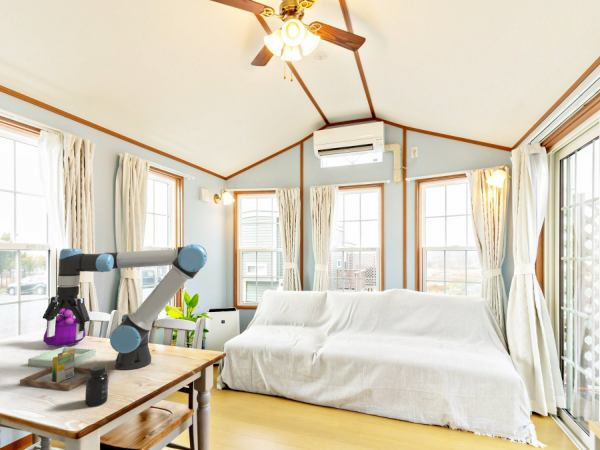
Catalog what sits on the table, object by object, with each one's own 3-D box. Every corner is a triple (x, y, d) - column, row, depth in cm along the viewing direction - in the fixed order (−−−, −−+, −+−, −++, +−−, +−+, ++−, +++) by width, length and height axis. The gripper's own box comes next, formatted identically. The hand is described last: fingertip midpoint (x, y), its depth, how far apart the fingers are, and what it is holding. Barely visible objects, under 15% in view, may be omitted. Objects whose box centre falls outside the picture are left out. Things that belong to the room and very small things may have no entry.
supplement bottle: (102, 396, 122) (104, 363, 123) (110, 402, 118) (112, 367, 119) (81, 403, 117) (83, 368, 118) (88, 409, 113) (90, 373, 113)
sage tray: (95, 355, 164) (95, 349, 164) (63, 369, 146) (63, 362, 146) (63, 352, 168) (63, 346, 168) (27, 365, 149) (28, 358, 150)
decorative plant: (54, 340, 188) (58, 286, 189) (90, 339, 191) (94, 286, 193) (34, 350, 169) (38, 291, 171) (75, 349, 172) (78, 291, 174)
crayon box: (68, 375, 140) (70, 347, 141) (74, 376, 139) (75, 348, 140) (50, 382, 133) (52, 352, 134) (56, 383, 132) (58, 353, 133)
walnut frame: (102, 374, 142) (102, 369, 142) (69, 390, 126) (69, 385, 126) (57, 369, 146) (57, 364, 146) (19, 384, 130) (20, 379, 130)
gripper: (101, 286, 140) (98, 337, 138) (51, 283, 144) (47, 332, 143) (87, 288, 132) (83, 342, 131) (34, 285, 137) (30, 337, 135)
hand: (64, 337), depth 137 cm, fingers open, 13 cm apart
